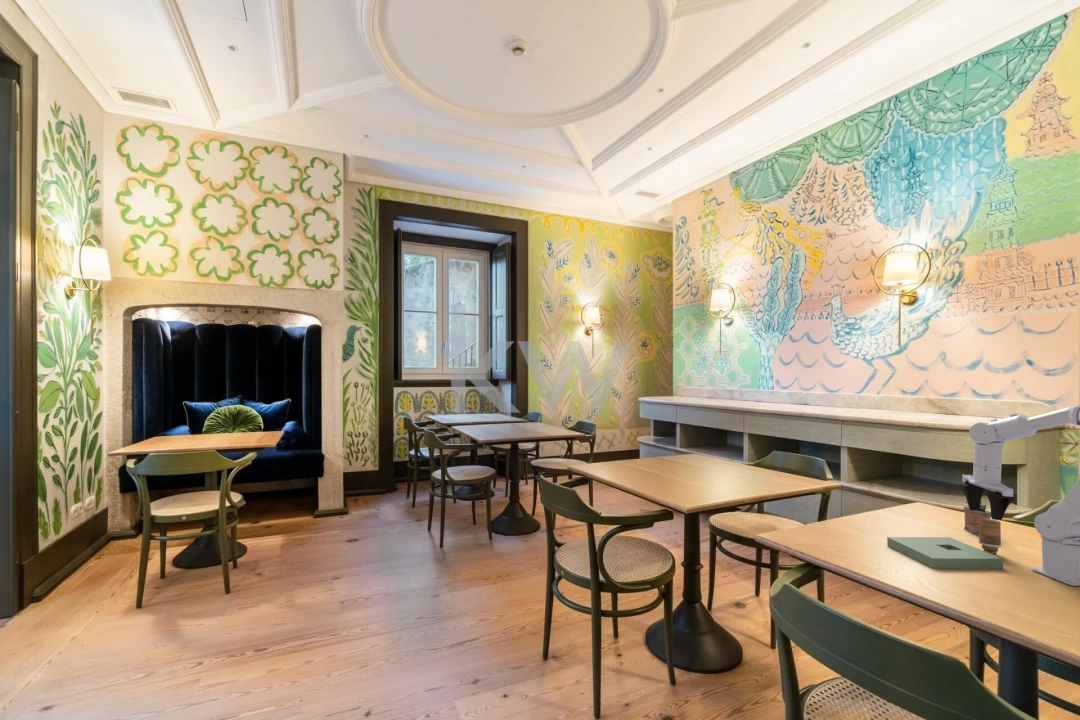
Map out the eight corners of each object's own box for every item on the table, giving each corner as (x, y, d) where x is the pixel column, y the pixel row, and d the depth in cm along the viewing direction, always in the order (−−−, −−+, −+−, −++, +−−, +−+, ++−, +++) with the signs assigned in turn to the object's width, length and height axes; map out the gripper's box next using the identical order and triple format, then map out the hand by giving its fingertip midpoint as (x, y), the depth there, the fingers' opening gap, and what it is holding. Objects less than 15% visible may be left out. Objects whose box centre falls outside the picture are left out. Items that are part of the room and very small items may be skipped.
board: (1003, 568, 123) (1003, 558, 123) (932, 568, 123) (932, 558, 123) (949, 546, 139) (949, 537, 139) (887, 545, 139) (887, 537, 139)
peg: (1006, 557, 131) (1005, 523, 131) (989, 557, 131) (988, 523, 131) (990, 551, 136) (989, 518, 136) (974, 550, 136) (974, 518, 136)
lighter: (994, 538, 146) (994, 504, 147) (983, 538, 147) (982, 504, 147) (971, 529, 154) (971, 497, 155) (960, 529, 155) (960, 497, 155)
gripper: (951, 459, 142) (950, 505, 143) (993, 472, 128) (991, 523, 128) (977, 460, 142) (975, 506, 142) (1022, 473, 127) (1020, 524, 127)
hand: (985, 514), depth 135 cm, fingers open, 7 cm apart
